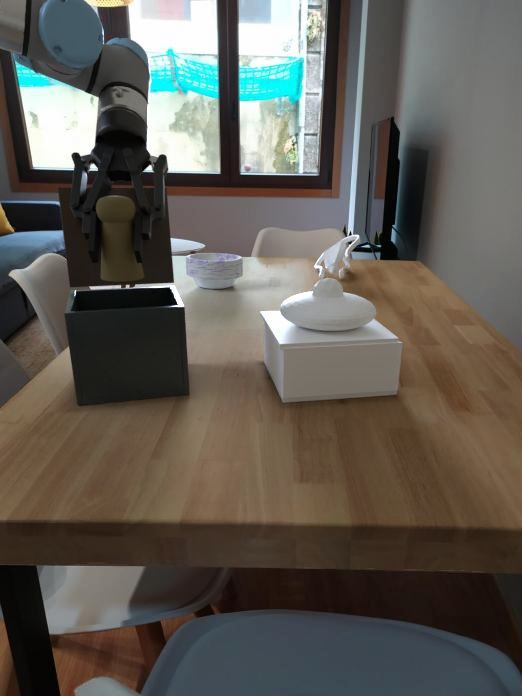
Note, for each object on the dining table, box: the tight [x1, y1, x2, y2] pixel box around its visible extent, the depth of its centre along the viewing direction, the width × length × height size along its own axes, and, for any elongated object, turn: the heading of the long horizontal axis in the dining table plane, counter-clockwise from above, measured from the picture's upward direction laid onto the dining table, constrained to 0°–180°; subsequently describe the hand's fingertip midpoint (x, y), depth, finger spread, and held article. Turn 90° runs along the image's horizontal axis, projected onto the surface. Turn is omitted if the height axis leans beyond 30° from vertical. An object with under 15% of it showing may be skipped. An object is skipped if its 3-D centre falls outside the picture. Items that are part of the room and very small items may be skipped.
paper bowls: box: [185, 252, 244, 290], centre depth 146 cm, size 15×15×8 cm
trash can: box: [63, 285, 190, 406], centre depth 81 cm, size 14×16×13 cm
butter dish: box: [259, 277, 403, 404], centre depth 84 cm, size 18×18×16 cm
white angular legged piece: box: [314, 234, 361, 280], centre depth 163 cm, size 17×9×22 cm
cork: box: [96, 196, 144, 282], centre depth 76 cm, size 6×6×11 cm
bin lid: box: [57, 186, 175, 288], centre depth 83 cm, size 14×16×1 cm
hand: (115, 256), depth 73 cm, fingers closed on cork, 5 cm apart
